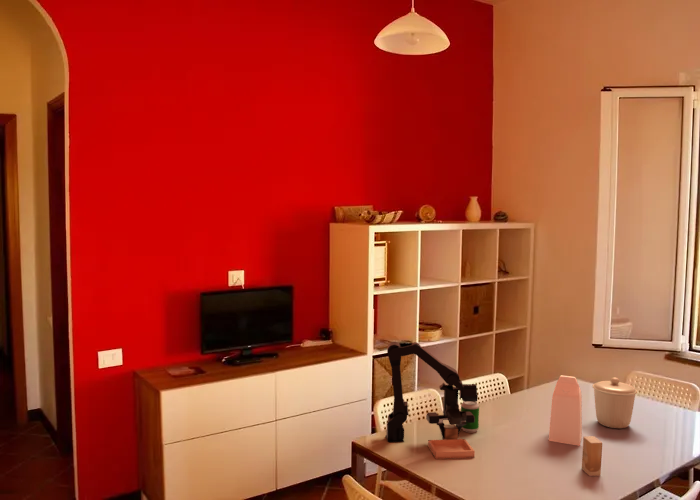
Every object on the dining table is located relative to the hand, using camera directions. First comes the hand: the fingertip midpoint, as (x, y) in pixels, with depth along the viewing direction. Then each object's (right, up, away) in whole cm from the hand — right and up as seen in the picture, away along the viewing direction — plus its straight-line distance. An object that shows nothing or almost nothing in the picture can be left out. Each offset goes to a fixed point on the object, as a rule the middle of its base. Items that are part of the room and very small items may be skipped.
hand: (449, 438), depth 241 cm
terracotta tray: (-1, -2, -10) cm, 10 cm away
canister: (+76, -1, +23) cm, 79 cm away
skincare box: (+46, -4, -27) cm, 54 cm away
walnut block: (0, -1, 0) cm, 1 cm away
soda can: (+11, -1, +13) cm, 17 cm away
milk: (+49, -2, +5) cm, 49 cm away
